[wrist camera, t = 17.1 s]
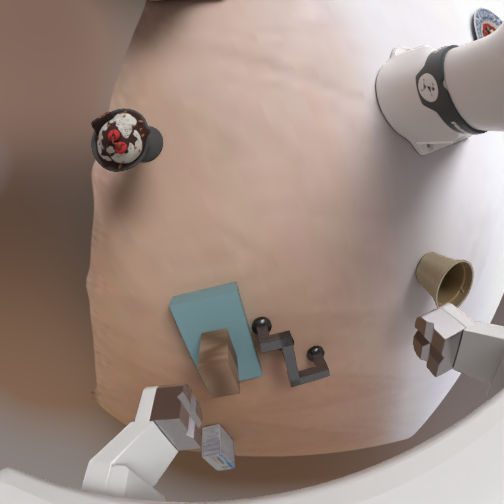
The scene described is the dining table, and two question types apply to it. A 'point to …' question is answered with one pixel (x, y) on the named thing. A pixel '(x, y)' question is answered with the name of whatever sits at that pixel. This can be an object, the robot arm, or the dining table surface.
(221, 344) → the walnut block
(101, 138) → the sundae
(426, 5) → the dining table surface
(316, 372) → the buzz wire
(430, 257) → the flower pot
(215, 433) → the medicine box
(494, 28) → the ceramic plate
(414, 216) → the dining table surface
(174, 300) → the platform
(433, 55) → the robot arm
